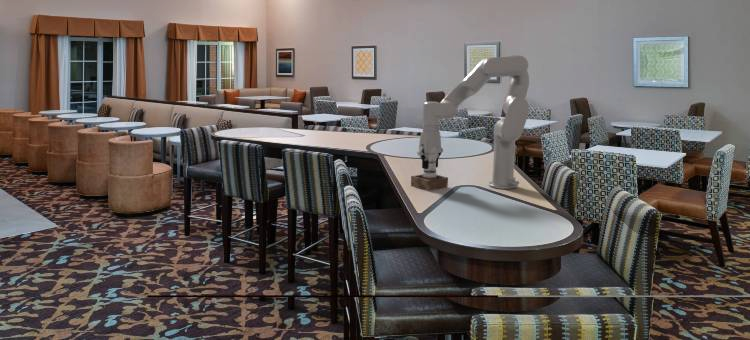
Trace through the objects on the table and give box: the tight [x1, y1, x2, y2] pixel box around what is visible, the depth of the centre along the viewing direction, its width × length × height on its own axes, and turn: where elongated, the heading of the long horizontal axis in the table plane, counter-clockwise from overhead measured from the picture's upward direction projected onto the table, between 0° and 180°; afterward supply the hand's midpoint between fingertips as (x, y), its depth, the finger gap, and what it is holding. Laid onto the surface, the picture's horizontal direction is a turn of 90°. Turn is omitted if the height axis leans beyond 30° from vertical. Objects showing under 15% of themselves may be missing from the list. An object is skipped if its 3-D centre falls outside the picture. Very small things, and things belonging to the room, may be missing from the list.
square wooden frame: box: [410, 173, 449, 192], centre depth 266 cm, size 12×12×4 cm
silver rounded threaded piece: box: [422, 147, 438, 180], centre depth 264 cm, size 6×7×20 cm
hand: (430, 167), depth 264 cm, fingers closed on silver rounded threaded piece, 5 cm apart
